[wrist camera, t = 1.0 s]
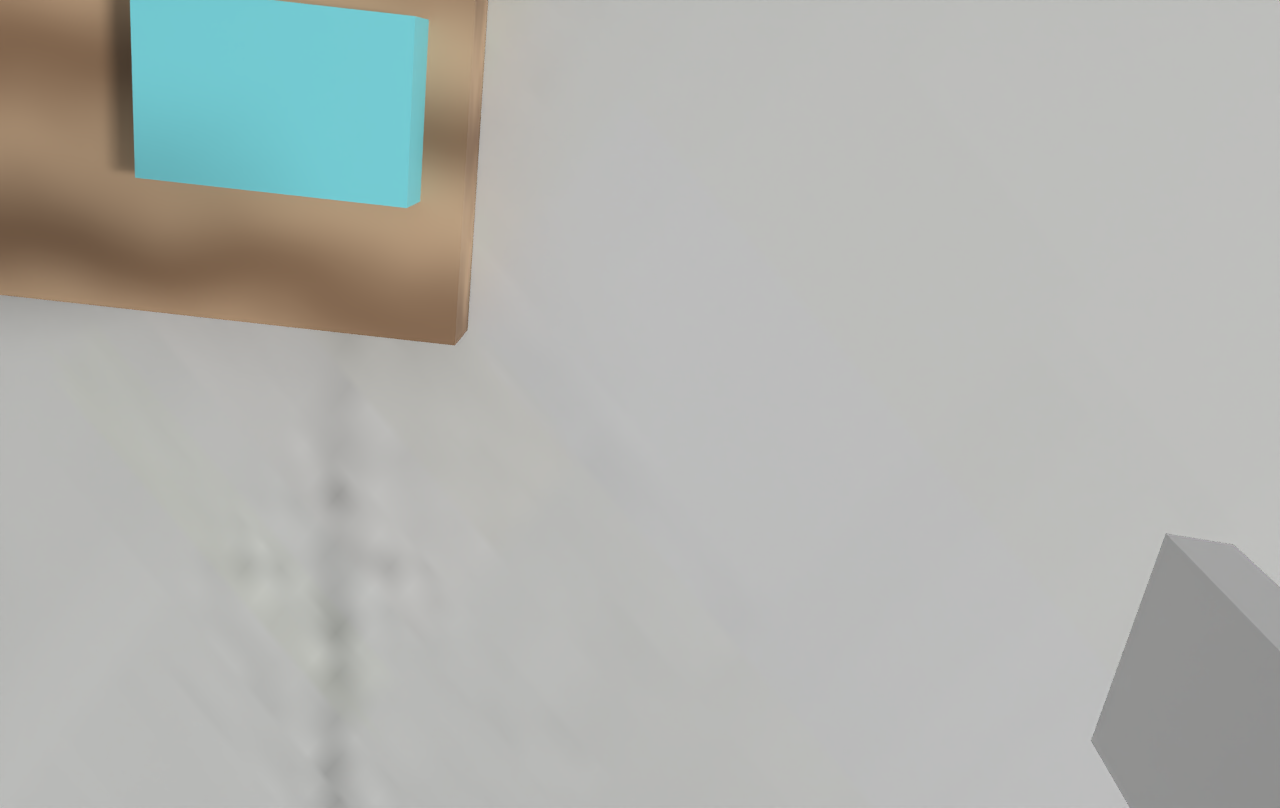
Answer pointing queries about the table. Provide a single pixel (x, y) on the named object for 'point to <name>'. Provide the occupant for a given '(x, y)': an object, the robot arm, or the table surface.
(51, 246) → the wooden board
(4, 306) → the table surface
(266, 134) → the turquoise flat block
